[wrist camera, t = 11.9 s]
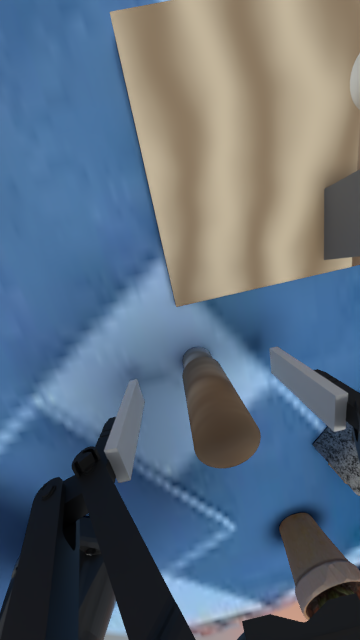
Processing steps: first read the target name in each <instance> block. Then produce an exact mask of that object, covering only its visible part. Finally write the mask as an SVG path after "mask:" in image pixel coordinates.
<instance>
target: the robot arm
mask: <svg viewBox="0 0 360 640" xmlns="http://www.w3.org/2000/svg"><path fill="white" fill-rule="evenodd" d="M270 361H271V373H272V374H273V375H274V376H275V377H276V378H278V379H279V380H280V381H281V382H282V383H283V384H284V385H285V386H286V387H287V388H288V389H289V390H290V391H291V392H292V393H293V394H294V395H296V396H297V397H298V398H299V399H300V400H301V401H302V402H303V403H304V404H305V405H306V406H307V407H308V408H309V409H310V410H311V411H312V412H313V413H315V414H316V415H317V416H318V417H319V418H320V419H321V420H322V421H323V422H324V423H325V424H326V425H327V426H328V427H329V428H330V429H331V430H332V431H334V432H336V431H340V430H344V429H346V422H348V423H349V424H350V425H351V426H352V427H353V429H352V441H355V445H356V450H357V454H358V459H359V463H360V393H358V392H357V391H355V390H354V389H352V388H350V387H349V386H347V385H345V384H344V383H342V382H341V381H339V380H337V379H336V378H333V376H331V375H329V374H328V373H326V372H323V371H321V370H318V369H317V370H312V369H311V368H309V367H308V366H306V365H305V364H303V363H301V362H300V361H298V360H297V359H295V358H294V357H292V356H291V355H289V354H288V353H286V352H285V351H283V350H282V349H280V348H279V347H273V348H270ZM144 404H145V401H144V398H143V395H142V392H141V389H140V386H139V383H138V380H137V379H135V380H131V381H129V383H128V386H127V388H126V391H125V394H124V397H123V399H122V402H121V405H120V408H119V410H118V413H117V416H116V417H113V418H109V420H108V421H107V422H106V424H105V425H104V427H103V430H102V432H101V434H100V438H99V439H98V441H97V444H96V446H95V447H88V448H85V449H84V450H82V451H81V452H80V453H79V454H78V455H77V456H76V457H75V459H74V460H73V463H72V470H73V472H74V473H75V475H74V476H72V477H70V478H68V479H67V480H65V481H63V480H62V479H61V478H60V477H57V478H53V479H51V480H50V481H48V482H47V483H46V484H44V486H43V487H42V488H41V489H40V490H39V491H38V493H37V494H36V496H35V498H34V501H33V504H32V509H31V513H30V517H29V521H28V525H27V530H26V534H25V538H24V542H23V546H22V551H21V555H20V556H19V558H18V560H17V562H16V565H15V567H14V570H13V573H12V579H11V581H10V584H9V587H8V590H7V593H6V596H5V599H4V602H3V605H2V609H1V612H0V640H104V637H105V633H106V630H107V627H108V624H109V621H110V618H111V615H112V612H113V609H114V606H115V603H116V601H117V604H118V607H119V611H120V614H121V617H122V620H123V623H124V626H125V629H126V632H127V636H128V639H129V640H195V638H194V636H193V634H192V632H191V630H190V628H189V626H188V624H187V622H186V620H185V618H184V617H183V615H182V613H181V611H180V609H179V607H178V605H177V604H176V602H175V600H174V598H173V596H172V595H171V593H170V591H169V589H168V587H167V585H166V583H165V581H164V579H163V577H162V575H161V573H160V571H159V569H158V568H157V566H156V564H155V562H154V560H153V558H152V556H151V554H150V552H149V550H148V548H147V546H146V544H145V542H144V540H143V539H142V537H141V535H140V533H139V531H138V529H137V527H136V525H135V523H134V521H133V519H132V517H131V515H130V513H129V511H128V510H127V508H126V506H125V504H124V502H123V500H122V498H121V496H120V494H119V492H118V490H117V488H116V486H115V484H114V482H115V478H116V479H117V481H118V483H121V482H125V481H130V480H131V475H132V470H133V464H134V459H135V453H136V448H137V442H138V437H139V431H140V426H141V420H142V415H143V409H144ZM88 513H89V516H90V518H84V517H83V516H85V515H86V514H88ZM242 623H243V628H244V633H243V634H242V635H241V636H240V637H239V638H238V639H237V640H360V600H359V598H358V596H357V594H356V593H354V594H350V595H346V596H342V597H338V598H334V599H330V600H328V601H327V602H326V603H325V604H324V605H323V606H322V607H321V608H320V609H319V610H318V611H317V612H316V613H315V614H314V615H313V616H312V617H311V618H310V619H309V620H308V621H307V622H304V623H303V622H298V621H295V620H291V619H287V618H283V617H279V616H274V615H271V614H269V615H265V616H261V617H257V618H253V619H249V620H245V621H242Z"/></svg>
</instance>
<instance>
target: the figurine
mask: <svg viewBox="0 0 360 640" xmlns="http://www.w3.org/2000/svg"><path fill="white" fill-rule="evenodd" d="M352 429H353V427H352V426H351V425H350V424H349V423H348V422H346V429H344V430H340V431H336V432H334V431H332V430H331V429H330V428H329V427H328V428H327V429H326V430H325V431H324V432H323V433H322V435H321V436H320V437H319V438H318V439H317V441H316V442H315V443H314V444H313V446H314V447H315V448H316V449H317V451H318V452H319V453H320V454H321V455H322V456H323V457H324V458H325V459H326V461H327V462H328V465H330V466H331V467H332V468H333V470H334V471H335V472H336V473H337V474H338V475H339V476H340V477H341V479H342V480H343V481H344V483H346V484H348V485H349V486H350V488H351V489H352V490H353V491H354V492H355V493H356V494H357V495H358V496H360V463H359V459H358V454H357V450H356V445H355V441H352Z"/></svg>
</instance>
